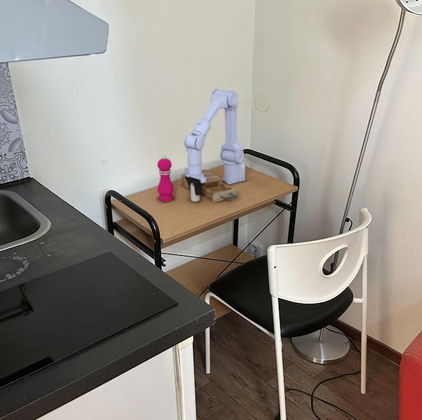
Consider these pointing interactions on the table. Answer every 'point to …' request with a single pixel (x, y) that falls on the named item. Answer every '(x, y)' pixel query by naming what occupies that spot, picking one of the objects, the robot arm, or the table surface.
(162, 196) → the pepper mill
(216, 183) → the drawer
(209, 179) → the cabinet
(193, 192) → the spice jar
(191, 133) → the robot arm
